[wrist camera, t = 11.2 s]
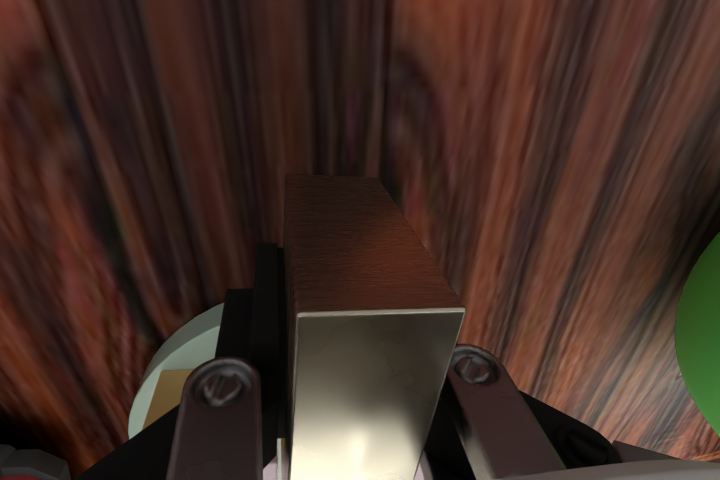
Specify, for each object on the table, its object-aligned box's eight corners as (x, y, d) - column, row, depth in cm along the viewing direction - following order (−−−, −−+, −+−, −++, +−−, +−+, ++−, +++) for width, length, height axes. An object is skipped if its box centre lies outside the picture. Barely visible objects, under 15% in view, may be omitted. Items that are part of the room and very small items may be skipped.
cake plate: (312, 217, 15) (315, 236, 14) (485, 388, 22) (498, 410, 21) (64, 422, 18) (47, 454, 16) (292, 515, 25) (293, 542, 24)
